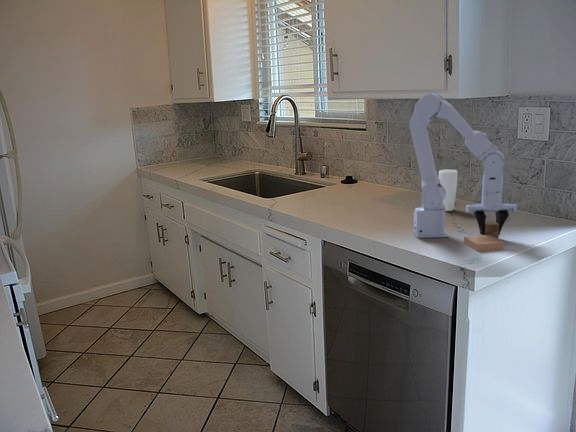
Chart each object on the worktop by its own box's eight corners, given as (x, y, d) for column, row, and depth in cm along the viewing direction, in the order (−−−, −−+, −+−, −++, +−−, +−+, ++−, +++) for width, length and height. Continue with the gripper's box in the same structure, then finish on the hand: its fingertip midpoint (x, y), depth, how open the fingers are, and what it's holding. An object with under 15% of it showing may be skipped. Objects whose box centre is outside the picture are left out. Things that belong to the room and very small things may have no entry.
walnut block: (484, 240, 157) (485, 225, 156) (480, 237, 161) (481, 221, 160) (498, 240, 157) (499, 224, 155) (493, 236, 161) (494, 221, 159)
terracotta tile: (476, 252, 148) (477, 244, 147) (463, 244, 156) (464, 236, 155) (503, 250, 149) (503, 242, 148) (488, 242, 157) (489, 234, 156)
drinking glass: (452, 207, 199) (454, 168, 195) (458, 211, 193) (460, 171, 189) (435, 208, 199) (436, 169, 195) (440, 212, 192) (442, 172, 189)
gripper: (471, 194, 152) (469, 238, 155) (522, 193, 151) (518, 237, 154) (464, 189, 158) (462, 232, 162) (513, 188, 157) (510, 231, 161)
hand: (489, 234), depth 158 cm, fingers closed on walnut block, 4 cm apart
